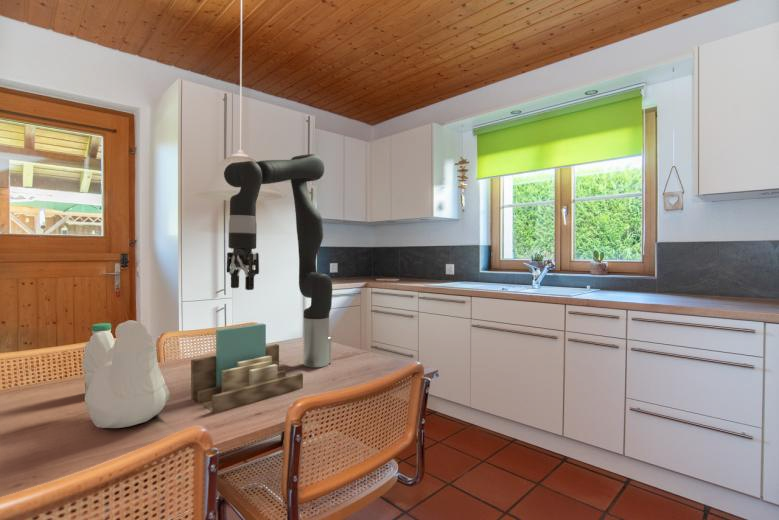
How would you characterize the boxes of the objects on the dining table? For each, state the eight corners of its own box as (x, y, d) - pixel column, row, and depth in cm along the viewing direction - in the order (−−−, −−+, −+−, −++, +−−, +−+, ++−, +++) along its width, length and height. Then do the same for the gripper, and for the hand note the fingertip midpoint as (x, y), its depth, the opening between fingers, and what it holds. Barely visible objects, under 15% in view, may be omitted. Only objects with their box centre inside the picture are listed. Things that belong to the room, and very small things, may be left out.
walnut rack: (276, 382, 129) (276, 344, 129) (302, 392, 120) (302, 351, 119) (191, 404, 110) (191, 359, 110) (214, 419, 100) (214, 370, 100)
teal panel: (262, 383, 123) (262, 323, 123) (265, 384, 122) (265, 324, 122) (216, 394, 113) (216, 329, 113) (219, 396, 112) (219, 330, 111)
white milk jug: (181, 420, 100) (180, 318, 99) (106, 444, 87) (105, 328, 86) (136, 397, 115) (135, 309, 114) (66, 415, 102) (65, 316, 101)
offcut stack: (268, 385, 121) (269, 355, 121) (277, 389, 118) (277, 358, 118) (219, 399, 110) (219, 365, 110) (227, 403, 107) (227, 369, 106)
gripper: (267, 232, 115) (267, 289, 115) (242, 233, 125) (242, 286, 125) (242, 230, 109) (241, 291, 110) (218, 232, 119) (217, 287, 119)
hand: (242, 288), depth 117 cm, fingers open, 8 cm apart
